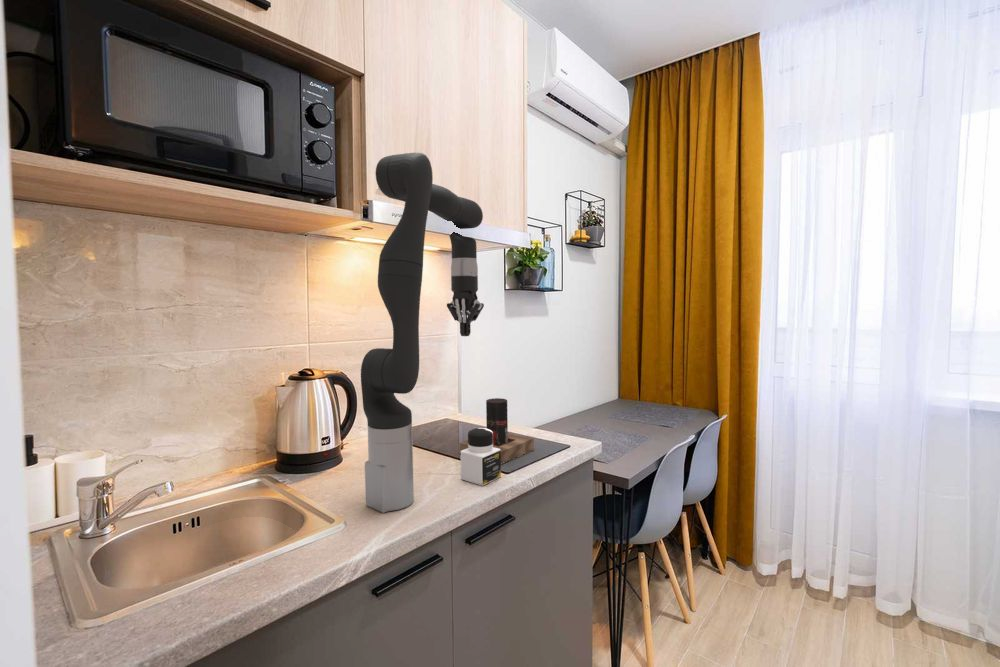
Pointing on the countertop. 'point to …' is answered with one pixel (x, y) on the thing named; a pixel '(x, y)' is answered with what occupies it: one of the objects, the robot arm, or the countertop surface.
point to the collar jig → (510, 446)
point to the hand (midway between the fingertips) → (465, 336)
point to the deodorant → (497, 420)
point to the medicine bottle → (480, 458)
